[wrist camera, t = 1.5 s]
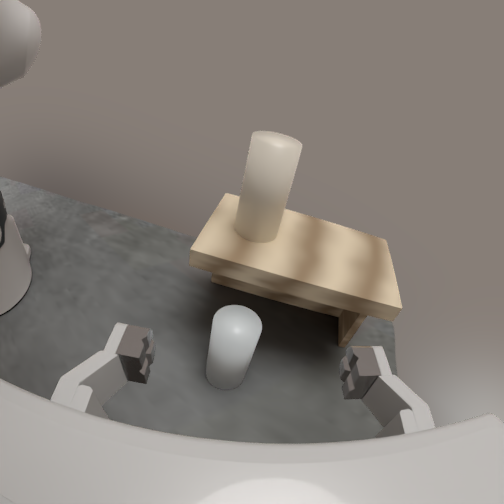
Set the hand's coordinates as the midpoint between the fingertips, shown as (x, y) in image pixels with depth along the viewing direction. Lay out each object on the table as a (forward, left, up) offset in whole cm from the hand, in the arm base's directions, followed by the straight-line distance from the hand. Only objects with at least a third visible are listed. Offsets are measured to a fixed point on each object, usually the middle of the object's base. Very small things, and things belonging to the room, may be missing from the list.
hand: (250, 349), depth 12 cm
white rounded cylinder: (-2, +20, -7) cm, 21 cm away
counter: (+3, +20, -22) cm, 30 cm away
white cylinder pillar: (-1, +11, -22) cm, 24 cm away
